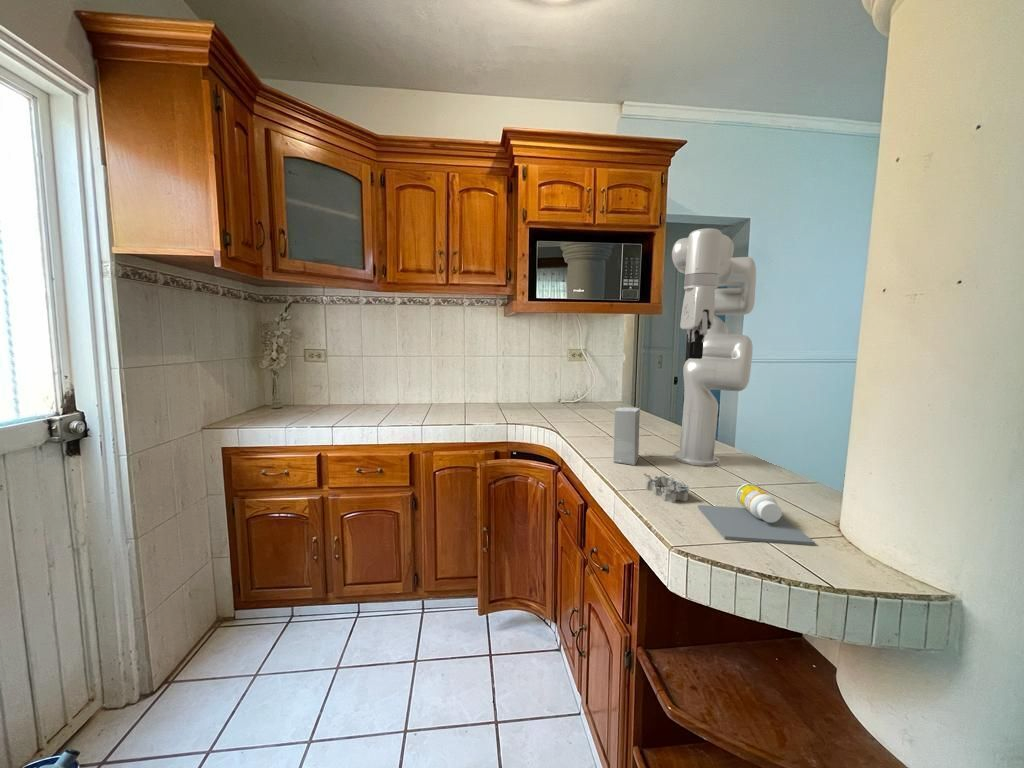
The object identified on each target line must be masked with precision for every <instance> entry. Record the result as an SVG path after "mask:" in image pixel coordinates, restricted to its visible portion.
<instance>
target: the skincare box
mask: <svg viewBox="0 0 1024 768" xmlns="http://www.w3.org/2000/svg"><path fill="white" fill-rule="evenodd" d="M640 409H641V408H640V407H627V406H626V407H622V406H619V407H616V408H615V409H614V413H613V415H614V417H613V459H612V460H613V461H612V462H614V463H617V464H618V463H619V464H625V465H630V466H636V464H637V462H638V461H639V455H640V454H639V453H640V452H639V450H640V449H639V447H640V446H639V445H640V441H639V439H640V415H641V414H640V413H641V411H640Z"/></svg>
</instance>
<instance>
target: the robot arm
mask: <svg viewBox="0 0 1024 768" xmlns="http://www.w3.org/2000/svg"><path fill="white" fill-rule="evenodd" d="M734 251H735V245H734V241H733V240H732V239H731V238H730V237H729V236H728V235H726V234H723V233H722V232H721V230H720V229H717V228H713V227H712V228H707V227H706V228H699V229H695V230H693V231H691V232H690V233H689V235H688V237H683V238H679V239H678V240H677V241H676V242H674V244H673V247H672V251H671V258H672V262H673V265H674V267H675V269H676V270H677V271H678V272H679V273H681V274H683V275H684V285H683V290H685V292H684V297H683V302H682V308H681V317H680V323H679V324H680V326H679V327H680V329H681V330H686V334H687V349H686V351H687V352H686V358H688V359H687V360H686V361H685V362H684V365H683V368H682V373H683V375H682V376H683V384H684V385H683V390H684V391H683V407H682V420H681V430H680V431H681V432H680V443H679V444H680V445H679V450H678V451H675V452H673V458H674V459H675V460H677V461H679V462H680V463H681V462H682V463H684V464H687V465H692V466H699V467H713V466H717V465H719V463H720V459H719V458H718V457H717V456H715V447H716V446H715V445H716V436H717V435H716V434H717V425H718V415H719V403H718V400H717V399H716V397H715V396H714V395H713V393H712V392H711V391H712V390H714V391H715V390H717V391H726V392H727V391H728V392H742V391H744V390H745V389H747V386H748V385H749V381H750V376H751V370H752V359H753V349H754V348H753V342H752V340H751V338H750V337H749V336H748V335H746V334H740V333H739V334H738V333H737V334H736V333H735V334H734V333H728V332H729V328H728V326H727V324H726V323H725V322H724V321H723V320H722V319H721V318H720V317H718V316H745V315H748V314H750V313H751V312H752V311H753V309H754V307H755V301H756V300H755V299H756V288H757V287H756V286H757V285H756V284H757V266H756V263H755V260H754V259H753V258H751V257H750V256H740V257H738V256H737V257H733V255H734ZM718 287H733V288H718ZM737 287H738V288H737ZM740 287H741V288H740Z"/></svg>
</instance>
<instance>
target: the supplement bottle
mask: <svg viewBox="0 0 1024 768" xmlns="http://www.w3.org/2000/svg"><path fill="white" fill-rule="evenodd" d="M735 495H736V500H737V502H738V503H739V504H740V505H741V506H742V508H746V509H747V510H748V511H749V512H750V513H751V514H752V515H754V516H755V517H756V518H758V519H762V520H764V521H766V522H770V523H772V522H776V521H777V520H779V519H780V517H781V516H783V514H782V513H783V511H782V508H781V507H780V506H779V505H778V501H777V500H776V499H775V498H774V497H773V496H772V495H771V494H769V493H767V492H766V491H765V490H764V489H762V488H761V487H759V486H758V485H756V484H755V483H754V484H753V483H744V484H743V485H741V486H739V487H738V489H737V490H736V494H735Z"/></svg>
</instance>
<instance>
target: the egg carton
mask: <svg viewBox="0 0 1024 768" xmlns="http://www.w3.org/2000/svg"><path fill="white" fill-rule="evenodd" d="M643 476H645V477H646V480H645V483H644V487H645V490H647V491H651V492H652V494H653V495H654V496H657V497H661V500H662V501H664V502H668V503H673V504H674V503H676V501H682V502H688V499H689V490H690V489H691V488H692V486H689V485H686V484H685V483H684V482H683V481H679V480H677V479H676V478H675V477H674V476H672V475H663V476H662V475H660V476H657V475H655V476H654V478H652V477H651V475H650V474H647V473H646V472H644V473H643ZM660 486H661V487H660ZM664 488H665V489H664Z"/></svg>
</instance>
